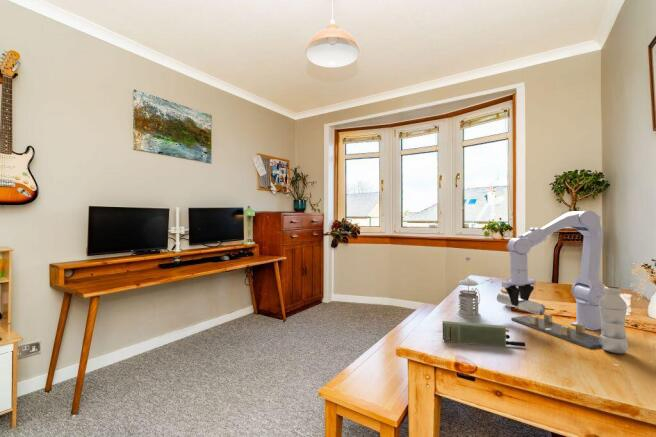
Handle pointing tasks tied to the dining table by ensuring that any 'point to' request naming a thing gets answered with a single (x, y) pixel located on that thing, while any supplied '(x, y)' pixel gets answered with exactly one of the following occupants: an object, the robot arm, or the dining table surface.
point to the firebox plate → (560, 330)
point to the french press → (468, 299)
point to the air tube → (522, 304)
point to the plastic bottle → (613, 321)
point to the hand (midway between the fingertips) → (519, 304)
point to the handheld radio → (477, 334)
